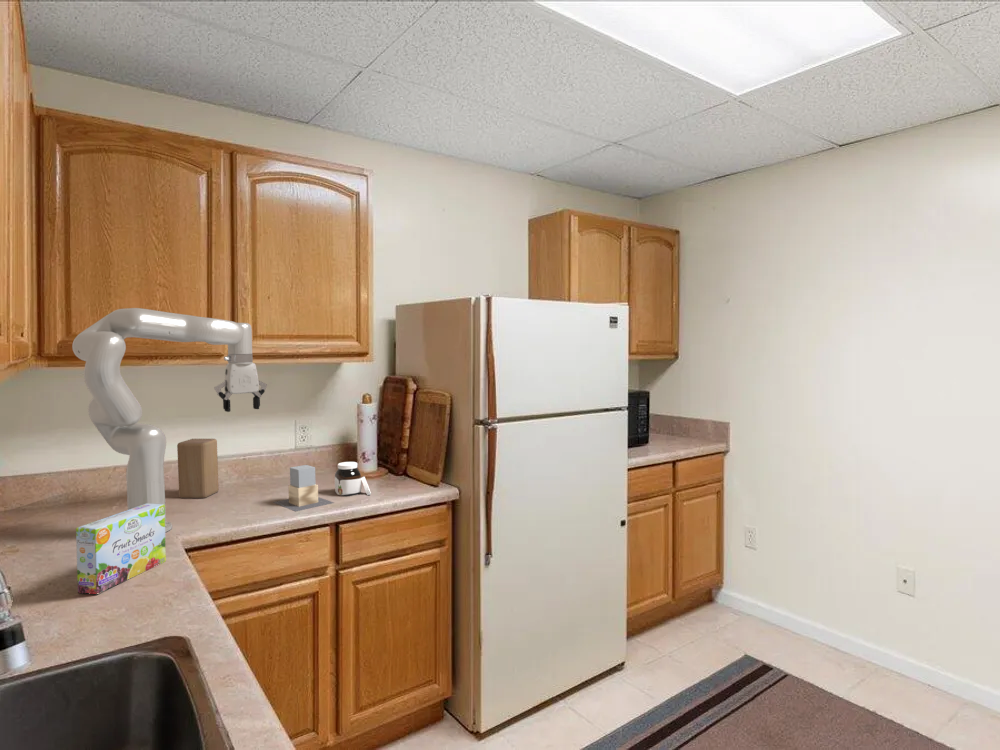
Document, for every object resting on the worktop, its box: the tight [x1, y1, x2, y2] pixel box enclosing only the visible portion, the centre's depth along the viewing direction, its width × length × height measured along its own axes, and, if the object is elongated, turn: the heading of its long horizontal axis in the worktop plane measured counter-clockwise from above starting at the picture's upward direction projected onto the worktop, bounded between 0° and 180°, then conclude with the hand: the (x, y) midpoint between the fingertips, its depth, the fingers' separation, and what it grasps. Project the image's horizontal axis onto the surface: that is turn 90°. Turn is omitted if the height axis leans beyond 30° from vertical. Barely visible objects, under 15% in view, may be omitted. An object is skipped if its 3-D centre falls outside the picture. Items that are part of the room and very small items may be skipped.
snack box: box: [75, 503, 167, 595], centre depth 143 cm, size 21×6×15 cm, turn 170°
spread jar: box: [334, 461, 372, 497], centre depth 216 cm, size 12×11×12 cm
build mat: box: [272, 496, 335, 512], centre depth 204 cm, size 14×16×1 cm
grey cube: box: [289, 464, 316, 488], centre depth 203 cm, size 6×6×6 cm
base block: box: [287, 484, 319, 506], centre depth 204 cm, size 7×7×6 cm
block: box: [176, 438, 220, 499], centre depth 218 cm, size 10×10×20 cm
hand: (242, 410), depth 204 cm, fingers open, 9 cm apart
